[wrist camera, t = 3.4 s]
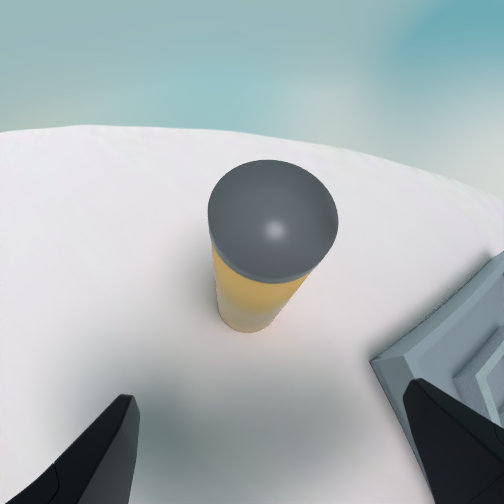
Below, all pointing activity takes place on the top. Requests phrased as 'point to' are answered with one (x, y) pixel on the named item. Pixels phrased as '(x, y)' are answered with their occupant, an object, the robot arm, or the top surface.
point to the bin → (447, 344)
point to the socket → (482, 378)
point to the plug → (266, 238)
